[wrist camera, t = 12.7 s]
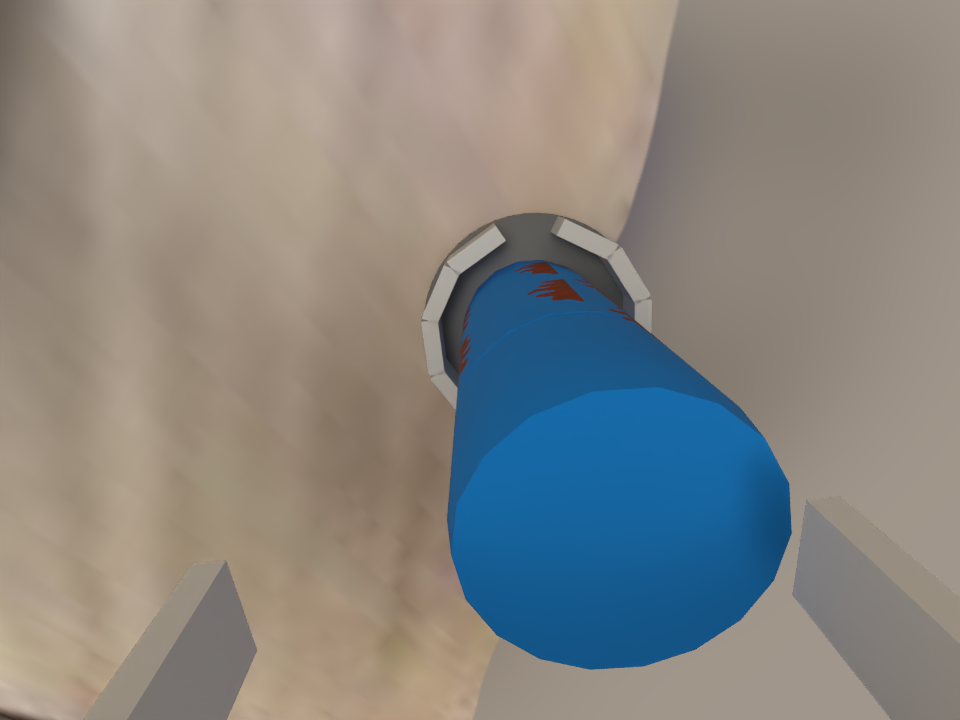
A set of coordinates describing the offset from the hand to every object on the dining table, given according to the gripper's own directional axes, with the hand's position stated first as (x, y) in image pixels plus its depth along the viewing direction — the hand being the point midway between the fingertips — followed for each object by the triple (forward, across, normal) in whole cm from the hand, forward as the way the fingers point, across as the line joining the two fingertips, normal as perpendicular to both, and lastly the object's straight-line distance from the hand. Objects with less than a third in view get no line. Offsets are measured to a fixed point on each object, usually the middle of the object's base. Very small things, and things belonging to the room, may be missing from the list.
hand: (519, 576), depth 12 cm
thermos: (+28, +4, -3) cm, 29 cm away
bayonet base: (+29, +4, -3) cm, 30 cm away
